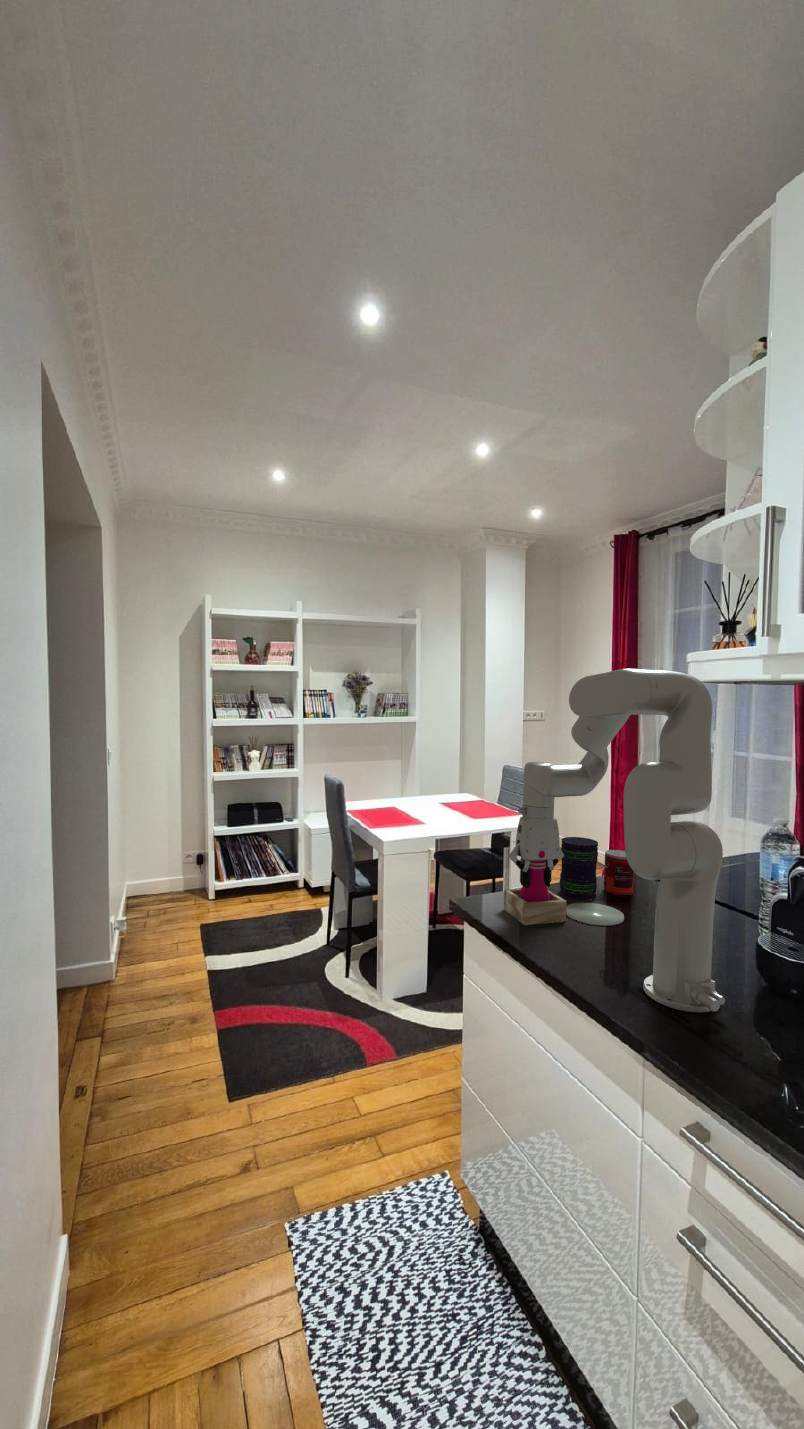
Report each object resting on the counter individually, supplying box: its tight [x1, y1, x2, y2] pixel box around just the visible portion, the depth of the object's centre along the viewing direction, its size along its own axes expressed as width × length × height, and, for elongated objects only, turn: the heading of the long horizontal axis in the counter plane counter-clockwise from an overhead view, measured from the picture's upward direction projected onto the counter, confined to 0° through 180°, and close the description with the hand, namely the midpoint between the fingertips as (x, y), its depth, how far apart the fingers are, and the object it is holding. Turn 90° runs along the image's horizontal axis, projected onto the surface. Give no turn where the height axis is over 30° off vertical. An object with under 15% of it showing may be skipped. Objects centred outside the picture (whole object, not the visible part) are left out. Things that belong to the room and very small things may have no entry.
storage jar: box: [559, 836, 599, 901], centre depth 166 cm, size 10×10×15 cm
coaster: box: [566, 902, 625, 927], centre depth 151 cm, size 14×14×1 cm
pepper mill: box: [520, 850, 550, 902], centre depth 149 cm, size 7×7×20 cm
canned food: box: [603, 849, 635, 896], centre depth 170 cm, size 8×8×11 cm
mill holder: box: [503, 888, 567, 926], centre depth 149 cm, size 11×11×5 cm
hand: (535, 885), depth 149 cm, fingers closed on pepper mill, 5 cm apart
